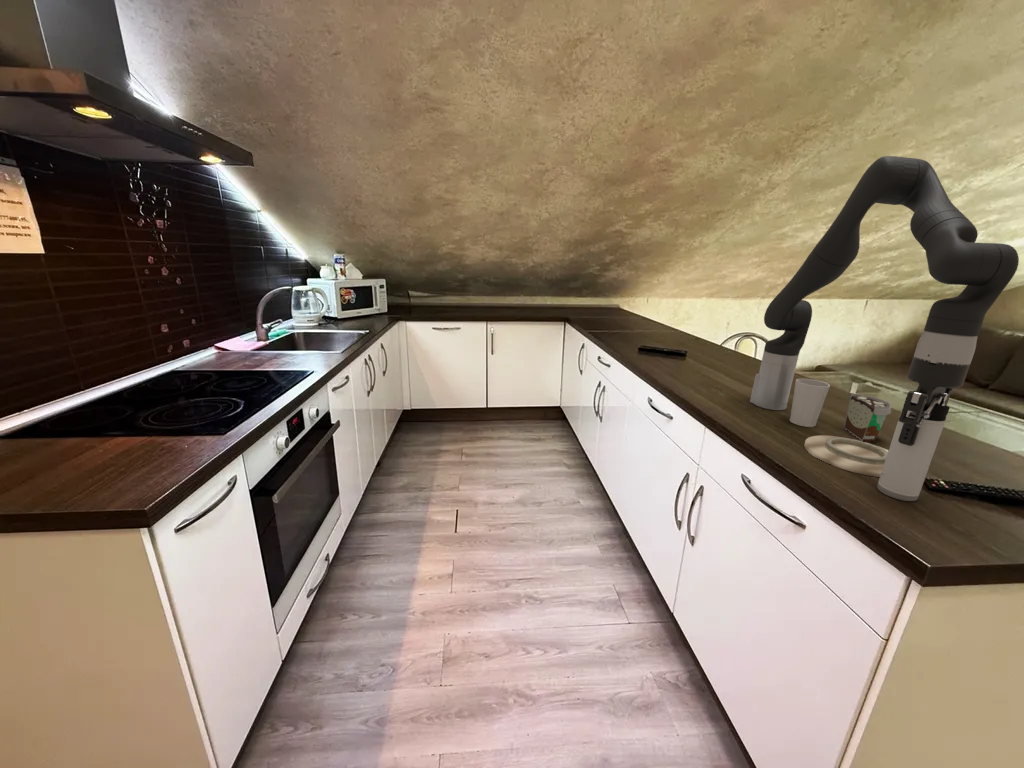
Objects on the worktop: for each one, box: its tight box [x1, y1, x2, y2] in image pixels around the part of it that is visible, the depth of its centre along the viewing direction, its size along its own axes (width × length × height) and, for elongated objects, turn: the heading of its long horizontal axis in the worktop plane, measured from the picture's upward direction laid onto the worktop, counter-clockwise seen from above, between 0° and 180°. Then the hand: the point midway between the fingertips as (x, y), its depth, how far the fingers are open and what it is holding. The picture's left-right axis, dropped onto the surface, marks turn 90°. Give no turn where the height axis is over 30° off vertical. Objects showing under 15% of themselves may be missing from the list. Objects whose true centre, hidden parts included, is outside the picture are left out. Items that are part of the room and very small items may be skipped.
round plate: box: [803, 435, 889, 478], centre depth 102 cm, size 20×20×2 cm
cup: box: [789, 378, 831, 428], centre depth 122 cm, size 8×8×12 cm
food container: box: [843, 392, 892, 443], centre depth 115 cm, size 12×6×10 cm, turn 168°
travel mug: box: [876, 396, 951, 502], centre depth 84 cm, size 6×7×20 cm
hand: (914, 440), depth 83 cm, fingers open, 8 cm apart
